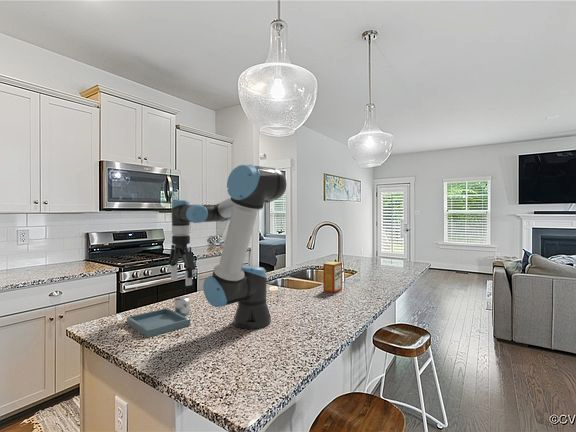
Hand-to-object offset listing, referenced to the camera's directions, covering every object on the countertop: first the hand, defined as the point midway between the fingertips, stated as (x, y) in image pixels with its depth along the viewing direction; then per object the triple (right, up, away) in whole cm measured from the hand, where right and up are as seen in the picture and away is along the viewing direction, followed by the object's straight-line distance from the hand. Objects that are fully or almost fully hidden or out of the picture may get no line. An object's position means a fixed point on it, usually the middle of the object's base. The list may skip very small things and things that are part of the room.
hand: (181, 282), depth 144 cm
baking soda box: (+73, -13, +39) cm, 84 cm away
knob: (0, -14, 0) cm, 14 cm away
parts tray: (-5, -14, -13) cm, 20 cm away
